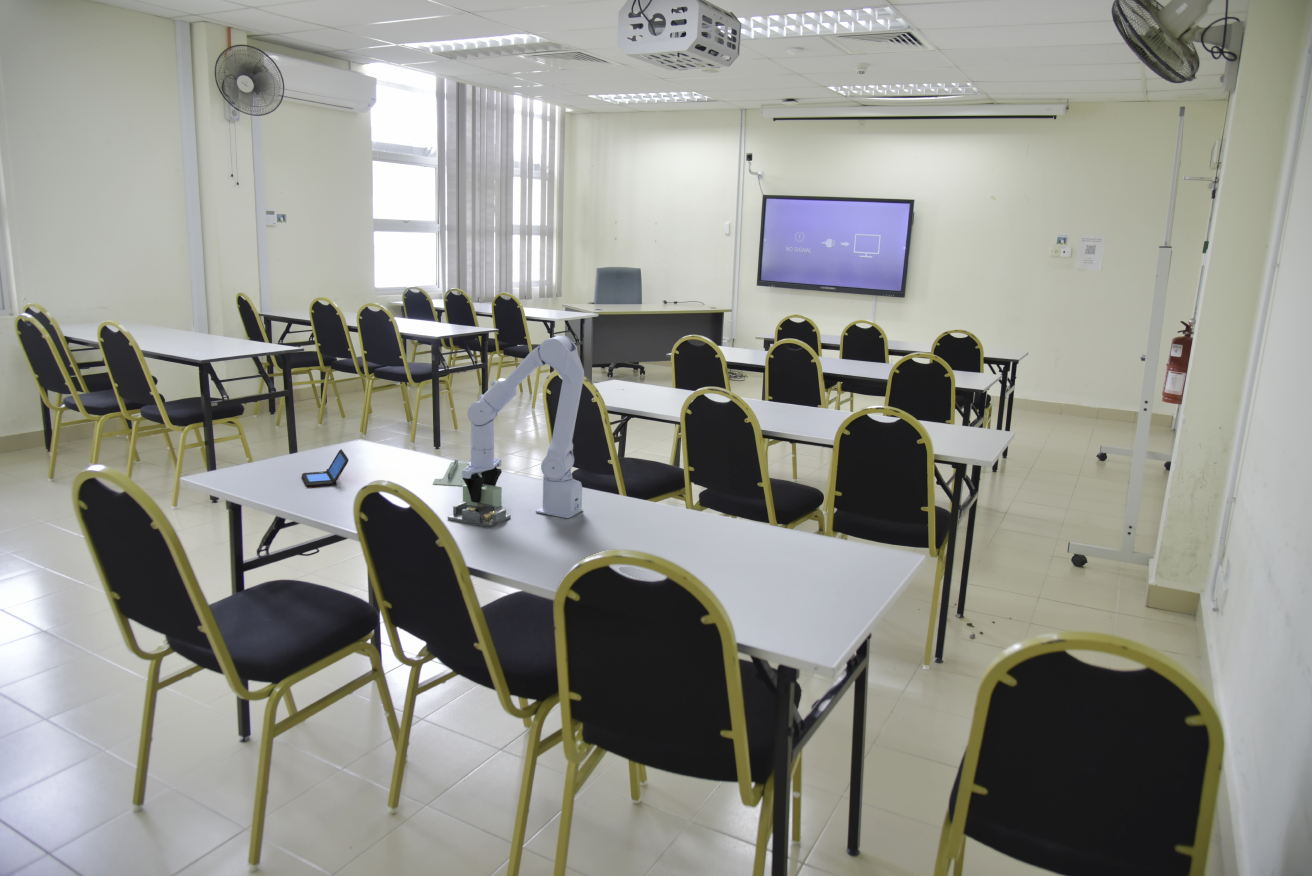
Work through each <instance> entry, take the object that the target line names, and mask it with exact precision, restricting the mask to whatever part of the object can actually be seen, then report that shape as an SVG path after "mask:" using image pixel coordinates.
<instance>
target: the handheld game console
mask: <svg viewBox="0 0 1312 876" xmlns="http://www.w3.org/2000/svg"><path fill="white" fill-rule="evenodd" d="M348 463H349V458H348V455H346V453H345V452H344V451H343V449H342V448H341V449H339V450H338V452H337V454H336V455H335V457H334V459H333V461H332V462H331V464H330V465H329V467H328V468H327V469H326V470H324V471H311V472H303V473H301V477H302V480H303V481H304V484H305V486H306V488H310V489H313V488H324V487H325V488H326V487H335V486H338V483H337V481H338V480H339V478H340V476H341V475H342V473H343V471H344V470H345V468H346V466H347V465H348Z"/></svg>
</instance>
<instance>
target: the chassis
mask: <svg viewBox="0 0 1312 876" xmlns="http://www.w3.org/2000/svg"><path fill="white" fill-rule="evenodd" d="M476 507H477V508H476ZM452 510H453V511H452V514H451V515H448V516H447V520H448V521H452V522H457V523H461V524H465V525H466V524H467V525H472V526H477V527H481V528H486V529H487V528H488V529H491V528H493V527H495V526H497V525H499V524H502V523H504V522H506V521H507V520H510V519H511V517H512V515H511V514H507V509H504V508H502V509H499V510H498V511H497V508H496V506H495V505H490V504H484V503H477V506H469V507H468V506H467V502H463V501H462V502H460V503H457V504H455V505H453V507H452Z"/></svg>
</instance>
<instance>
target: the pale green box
mask: <svg viewBox="0 0 1312 876" xmlns="http://www.w3.org/2000/svg"><path fill="white" fill-rule="evenodd" d="M502 494H503V490H502V486H499V485H498V486H497V485H496V486H492V485H486V484H483V485H482V489H481V499H480V502H479V503H484V504H490V505H495V506H496V509H498V508H499V507H501V506H502V505H503V504H502V503H503V501H502ZM462 502H467V505H468V506H470V507H477V503H475V502H472V501H471V498H470V494H469V490H468V488H467V485H463V487H462Z"/></svg>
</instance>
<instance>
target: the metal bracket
mask: <svg viewBox="0 0 1312 876" xmlns="http://www.w3.org/2000/svg"><path fill="white" fill-rule="evenodd" d="M468 462H471V458H470V460H469V461H468ZM468 462H459V459H454V461H451V462H450V464H449V465H448V467H447V470H446V471H445V473H444V475H443V478H434V480H433V483H432V486H439V487H440V486H443V487H445V486H448V487H462V488H463V485H466V483H465V482H464V480H463V479H462V470H464V469H466V468H467V467H468V465H467V463H468ZM478 476H479V477H482V476H481V473H479V474H478Z"/></svg>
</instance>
